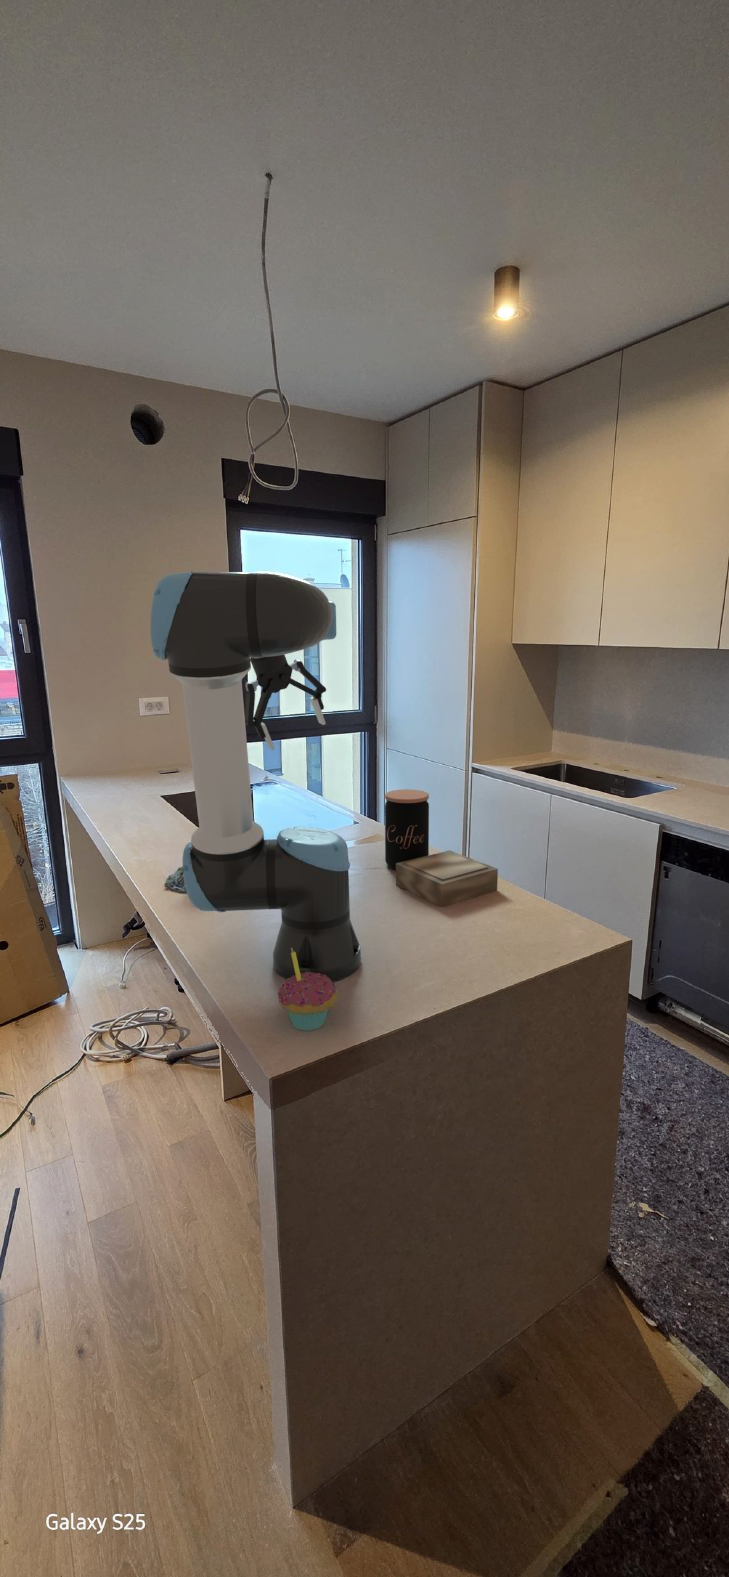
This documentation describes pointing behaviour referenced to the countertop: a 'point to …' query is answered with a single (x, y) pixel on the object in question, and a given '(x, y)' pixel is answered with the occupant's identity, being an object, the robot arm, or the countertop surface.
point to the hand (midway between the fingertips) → (297, 735)
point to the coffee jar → (406, 826)
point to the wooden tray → (446, 877)
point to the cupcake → (307, 997)
